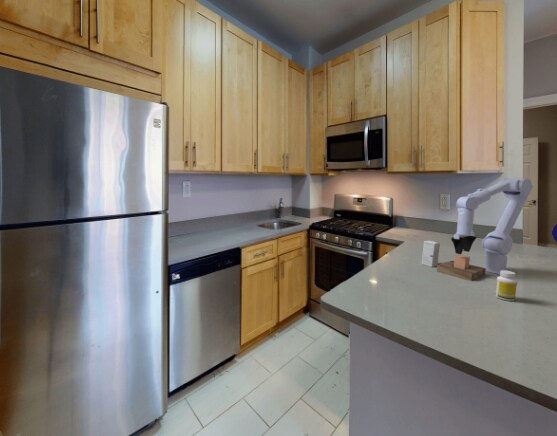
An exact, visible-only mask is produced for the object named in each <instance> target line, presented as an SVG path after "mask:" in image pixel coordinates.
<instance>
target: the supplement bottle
mask: <svg viewBox="0 0 557 436" xmlns="http://www.w3.org/2000/svg"><path fill="white" fill-rule="evenodd" d="M506 270H507V269H506ZM506 270H502V271H501V272H500V274H499V275H500V276H497V278H496V285H495V293H494V296H495V297H496V298H498V299H500V300H502V301H506V302H508V301H509V302H514V301H515V299H516V294H517V285H518V280H517V279H516V273H515V272H514V271H510V270H509V271H506Z"/></svg>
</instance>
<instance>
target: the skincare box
mask: <svg viewBox="0 0 557 436" xmlns="http://www.w3.org/2000/svg"><path fill="white" fill-rule="evenodd" d="M422 246H423V248H422V256H421V265H425V266H427V267H430V268H431V267H432V268H435V267H437V265H439V264H438V263H439V255H440V254H439V253H440V248H441V247H440V246H441V243H440V242H437V241H434V240H424V241H423V245H422Z"/></svg>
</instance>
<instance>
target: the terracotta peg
mask: <svg viewBox="0 0 557 436" xmlns="http://www.w3.org/2000/svg"><path fill="white" fill-rule="evenodd" d="M470 260H471V257H470V256H469V255H468V256H467V255H463V254H455V255H454V258H453V261H454V267H456V268H461V269H465V270H466V269H469V264H470Z"/></svg>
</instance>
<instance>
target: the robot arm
mask: <svg viewBox="0 0 557 436" xmlns="http://www.w3.org/2000/svg"><path fill="white" fill-rule="evenodd" d="M533 188H534V185H533V183H532V181H531V179H530V178H528V177H523V178H520V177H519V178H517V177H516V178H509V177H505V178H503V179H500V180H499V181H498V182H497V183H495V184H493V185H492V186H490V187H488V188H486V189H485V188H478V189H476V191H475V192H472V193H468V194H467V196H461V197H459V198H458V199H457V200H456V202H455V206H456V208H457V215H458V216H457V225H456V232H455V233H454V234H453V237H450V238H451V239H450V241H452V243H453V247H454V251H455V255H463V251H464V252H466V253H467V252H468V253H469V252H470V251H471V248H472V246H473V244H474V242H475V240H476V239H477V236H476V233H475V231H473V230H474V219H475V217H474V216H475V210H477V208H478V207H479V206H480V205H481V204H483V203H486V202H489V200H490V199H491V197H492V196H495V195H497V194H500V193H503V195H504V196H505V197H506V198H507V199H508V200H509V201H508V203H507V205H506V207H505V209H504V211H503V213H502V214H501V216H500V219H499V221H498V223H497V225H496V227H495V229H494V230H493V231H491V232H488V233H487V234H486V236H485V237H484V238H483V239H482V241H481V247H482V248H483V249H484V252H485V253H484V254H485V255H484V265H483V268H486V273H487V272H489V273H492V274H497V275H500V272H501V271H502V270H506V271H510V270H509V269H507V266H508V256H507V255H508V254H509V253H510V252H511V251H512V248H513V243H514V239H513V238H512V236H511V235H510V234H511V232H512V230H513V228H514V226H515V224H516V222H517V220H518V218H519V215H520V214H521V212H522V210H523V208H524V205H525V204H526V202H527V199H528V197H529V196H530V193H531V191H532V190H533Z"/></svg>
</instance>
